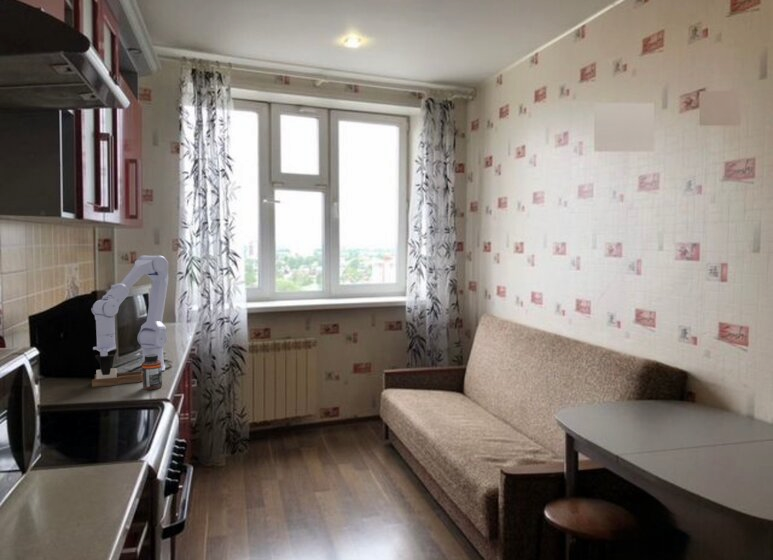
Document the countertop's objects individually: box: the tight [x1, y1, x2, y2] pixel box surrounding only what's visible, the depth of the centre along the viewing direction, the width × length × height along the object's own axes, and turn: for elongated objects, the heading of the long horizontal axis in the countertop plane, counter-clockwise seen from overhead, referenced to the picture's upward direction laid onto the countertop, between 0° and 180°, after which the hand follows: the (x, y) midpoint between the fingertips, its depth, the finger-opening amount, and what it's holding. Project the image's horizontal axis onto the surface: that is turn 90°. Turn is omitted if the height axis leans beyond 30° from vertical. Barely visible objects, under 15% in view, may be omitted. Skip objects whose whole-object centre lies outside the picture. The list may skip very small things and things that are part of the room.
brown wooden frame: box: [91, 370, 143, 388], centre depth 180 cm, size 7×16×2 cm, turn 113°
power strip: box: [95, 367, 118, 379], centre depth 179 cm, size 3×6×4 cm, turn 112°
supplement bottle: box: [141, 354, 163, 391], centre depth 172 cm, size 6×6×11 cm
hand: (107, 372), depth 178 cm, fingers open, 6 cm apart
